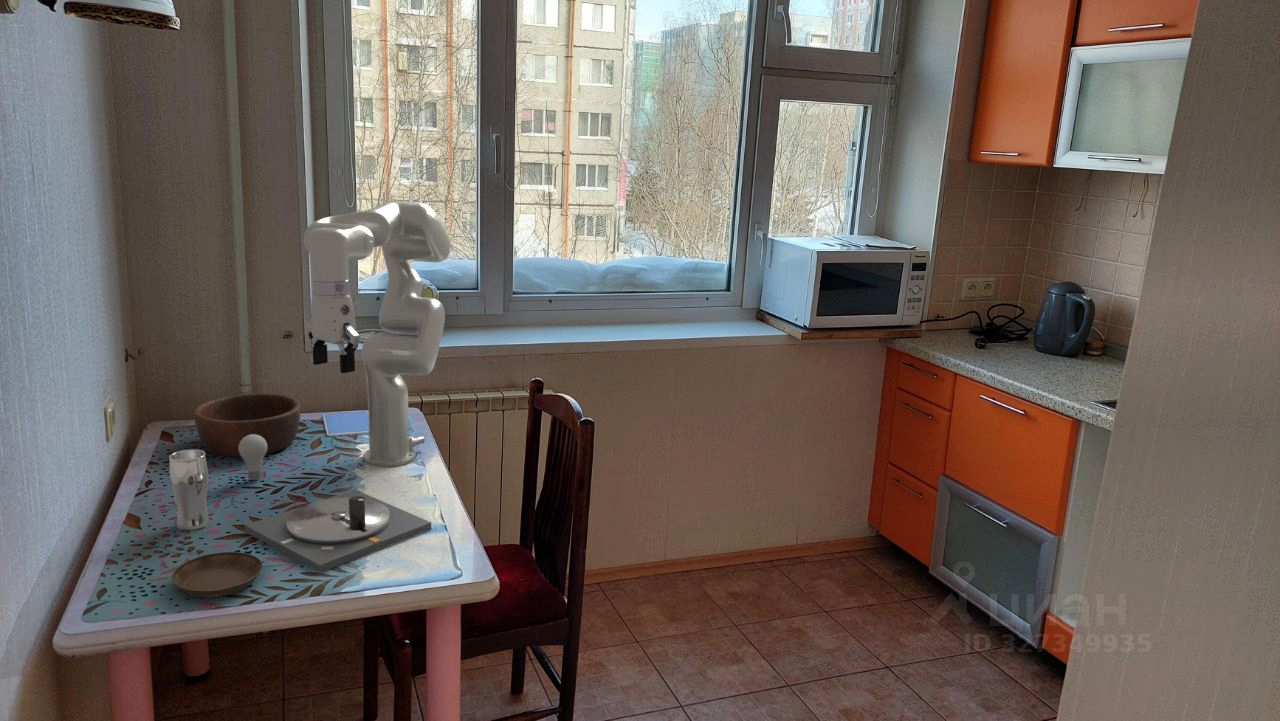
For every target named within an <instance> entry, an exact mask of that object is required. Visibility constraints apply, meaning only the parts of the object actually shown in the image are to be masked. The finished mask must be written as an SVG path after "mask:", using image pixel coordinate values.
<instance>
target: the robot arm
mask: <svg viewBox="0 0 1280 721" xmlns="http://www.w3.org/2000/svg"><path fill="white" fill-rule="evenodd" d="M303 245H304V248H305V250H306V251H307V253H308V254H309V260H310V261H309V262H310V265H309V266H310V284H311V285H310V287H311V300H310V301H311V302H310V303H311V304H310V321H308V322H306V329H307V331H308V337H309V339H310V345H311V346H312V347H311V348H312V364H313V365H315V366H318V365H323V364H326V363H328V359H329V357H328V344H327V343H330V344H332V345H337V347H338V348H339V351H340V353H341V354H339V366H340V367H339V370H340V373H341V374H347V373H352V372H355V370H356V363H355V362H356V360H355V359H356V358H355V354H356V353H357V349H358V347H359V342H360V340H361V339H360V338H361V337H360V336H361V335H360V334H359V333H358V332H357V322H356V314H355V308H354V302H353V299H352V296H351V291H350V266H349V264H350V263H349V261H361V260H364V259H366V258H368V257H369V256H370V255H371V254H372V253H373V251H374V248H378V247H381V249H382V250H381V251H382V256H383V259H384V262H385V266H386V269H387V275H388V280H387V285H386V289H385V292H384V295H383V298H382V299H383V300H382V302H381V305H380V310H379V316H378V325H379V327H380V328H381V329H382V330H383V331H385V332H386V333H376V334H372V335H369V337H368V336H367V338H366V339H365V340H364V341H363V343H362V348H361V357H362V362H363V368H364V371H365V376H366V387H367V412H368V420H369V434H368V441H369V442H368V443H369V449H367V450H366V451H365V452H364V453H363V455H362V456H363V457H362V458H363V461H364V462H365V463H367V465H371V466H376V467H395V466H396V467H397V466H400V465H401V466H402V465H405V464H409V463H411V462H412V461H413V460H414V459H416V456H417V455H416V451H415V449H413V448H415V446H417V445H418V446H419V445H421V444H425V438H424V436H422V435H420V436H417V437H414V436H412V435H411V436H410V433H409V432H410V428H409V392H408V387H407V383H406V382H405V381H404V378H403V377H402V376H401V375H406V376H420V377H421V376H426V375H429V374H430V373H431V372H432V371H433V369H434V367H435V364H436V360H437V358H438V353H439V350H440V345H441V341H442V337H443V332H444V329H445V328H444V327H445V323H446V322H445V321H446V312H445V307H444V305H443V303H442V302H441V301H440V300H439V299H436V298H433V297H424V296H421V295H422V290H423V286H424V283H423V280H422V278H421V276H420V274H419V273H418V272H417V270H416V269H415V268H414V266H413V265H412V263H411V262H419V263H420V262H421V263H423V262H424V263H441V262H443V261H446V259H447V258H448V257H449V254H450V251H451V240H450V237H449V234H448V232H447V230H446V228H445V227H444V224H443V223H442V221H441V219H440V218H439V215H438V214H437V213H436V211H435V210H434V209H433V208H432V207H431V206H430V205H429V204H426V203H423V202H410V201H409V202H408V201H406V202H405V201H387V202H384V203H380V204H379V205H376V206H375V207H372V208H369V209H366V210H361V211H354V212H349V213H344V214H342V213H341V214H337V215H332V216H331V215H330V216H326V217H323V218H320V219H317V220H315V221H313V222H312V223H311V224H309V225H308V227H307V228H306V229H305V232H304V235H303ZM345 345H346V346H345Z"/></svg>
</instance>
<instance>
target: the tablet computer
mask: <svg viewBox="0 0 1280 721" xmlns="http://www.w3.org/2000/svg"><path fill="white" fill-rule="evenodd" d="M329 414H330V415H329ZM322 420H323V424H324V429H325V434H326V437H328V436H337V435H350V436H358V435H357V434H360V435H361V434H362V435H369V420H368V410H365V411H353V412H352V411H348V412H337V413H336V412H335V413H334V414H333V413H324V414H322ZM355 434H356V435H355ZM337 437H338V436H337Z"/></svg>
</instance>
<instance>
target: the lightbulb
mask: <svg viewBox="0 0 1280 721" xmlns="http://www.w3.org/2000/svg"><path fill="white" fill-rule="evenodd" d="M238 449H239V453H240V455H241V456H242V457H241V459H242V460H244V462H245V466H246V469H247V471H248V478H249V480H252V481H255V482H256V481H258V480H259V479H260V478H261V477H262V471H261V470H262V467H263V461H264V458H265V456H266V455H267V454H266V452H267V443H266V441H265V439H264V438H263V437H261V436H259V435H256V434H251V435H248V436H246V437H244V438H243V439H242V440H241V441H240V443H239V447H238ZM265 454H266V455H265Z"/></svg>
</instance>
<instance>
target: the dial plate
mask: <svg viewBox="0 0 1280 721" xmlns="http://www.w3.org/2000/svg"><path fill="white" fill-rule="evenodd" d="M355 496H361V497H364V498H365V499H369V500H373V501H376V502H379V503H381V504H383V505H385V506H386V507H387V508H388V510H389V512H390V521H389V523H388V525H387V526H386V527H385V528H384V529H383V530H381V531H380V532H378V533H376V534H374V535H372V536H369V537H367V538H364V539H360V540H356V541H351V542H345V543H335V544H319V543H310V542H305V541H301V540H298V539H296V538H294V537H292V536H291V535H290V534H289V533H288V531H287V526H286V521H287V518H288V516H289V515H290V514H291V513H292V512H294V511H295V510H297V509H299V508H301V507H303V506H304V505H302V506H299V507H296V508H293V509H290V510H287V511H284V512H281V513H278V514H275V515H272V516H269V517H266V518H262V519H259V520H256V521H253V522H249V523H248V524H247V523H246V524H244V532H245V533H246V534H248V535H250V536H252V537H254V538H255V539H258V540H260V541H261V542H263V543H265V544H267V545H269V546H270V547H272V548H274V549H276V550H278V551H280V552H281V553H283V554H285V555H287V556H289V557H291V558H292V557H293V558H292V559H294V558H295V560H296V561H298V562H300V563H302V564H303V565H305V564H306V566H308V567H309V568H310V569H313V570H315V571H316V572H318V571H319V573H322V572H323V573H324V572H325V571H327V570H330V569H332V568H336V567H339V566H340V565H343V564H345V563H346V564H347V563H348V562H351V561H353V560H355V559H358V558H361V557H364V556H366V555H368V554H371V553H374V552H376V551H379V550H382V549H384V548H387V547H389V546H391V545H395V544H397V543H399V542H403V541H405V540H406V539H410V538H413V537H415V536H417V535H420V534H422V533H424V532H427V531H431V530H432V521H429V520H427V519H424V518H422V517H420V516H418V515H415V514H413V513H410V512H408V511H406V510H404V509H401V508H398V507H396V506H394V505H392V504H389V503H387V502H385V501H383V500H381V499H378V498H376V497H373V496H371V495H369V494H366V493H364V492H362V491H359V490H357V489H353V490H349V491H346V492H343V493H339V494H337V495H334V496H331V497H328V498H323V499H322V500H328V499H335V498H351V497H355ZM322 500H320V501H322Z"/></svg>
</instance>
